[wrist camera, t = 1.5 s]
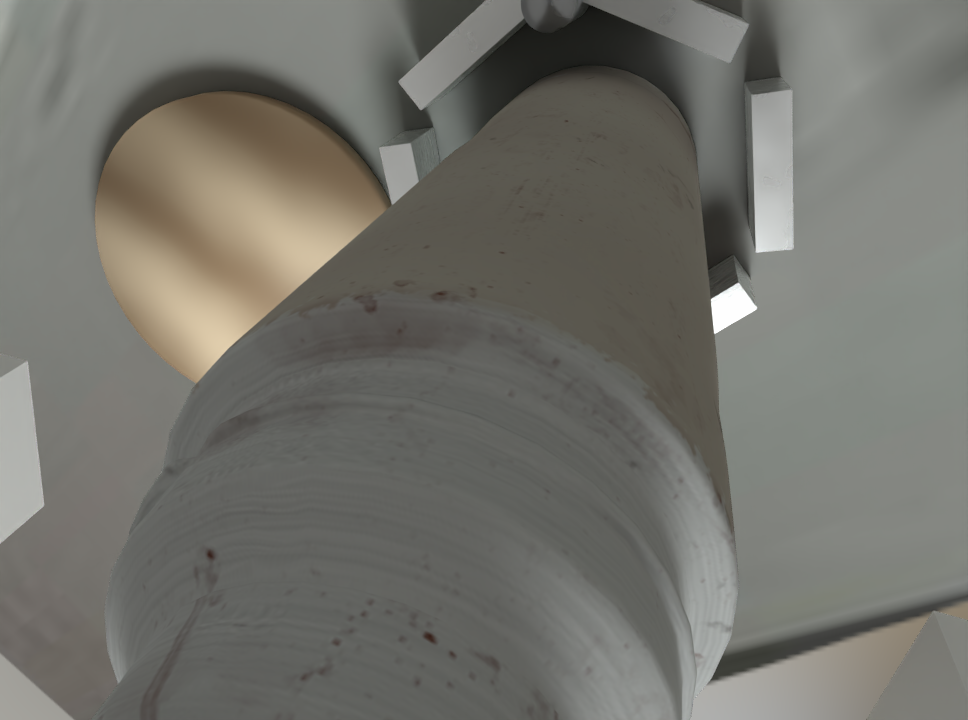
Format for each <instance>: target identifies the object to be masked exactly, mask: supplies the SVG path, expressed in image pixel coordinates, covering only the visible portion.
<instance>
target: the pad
mask: <svg viewBox="0 0 968 720" xmlns="http://www.w3.org/2000/svg"><path fill="white" fill-rule="evenodd" d="M391 206H392V205H391V202H390V200H389V198H388V197H387V195H386V193H385V191H384V189H383V188H382V186H381V184H380V182H379V181H378V179H377V178H376V176H375V175H374V174H373V172H372V171H371V170H370V168H369V167H368V165H367V164H366V163H365V161H364V160H363V159H362V158H361V157H360V156H359V155H358V154H357V153H356V152H355V150H354V149H353V148H352V147H351V146H350V145H349V144H348V143H347V142H346V141H345V140H343V139H342V138H341V137H340V136H339V135H338V134H336V133H335V132H334V131H333V130H332V129H331V128H329V127H328V126H326V125H325V124H323V123H322V122H320V121H319V120H317V119H316V118H314V117H313V116H311V115H310V114H308V113H306V112H304V111H302V110H300V109H298V108H296V107H294V106H292V105H290V104H287V103H285V102H282V101H279V100H276V99H273V98H270V97H267V96H262V95H258V94H253V93H248V92H235V91H218V92H207V93H202V94H198V95H194V96H190V97H186V98H183V99H179V100H176V101H172V102H170V103H167V104H165V105H163V106H161V107H158V108H156V109H154V110H152V111H151V112H149V113H148V114H146V115H145V116H143V117H142V118H140V119H139V120H138V121H137V122H136V123H135V124H133V125H132V126H131V127H130V128H129V129H128V130H127V131H126V132H125V133H124V134H123V136H122V137H121V138H120V140H119V141H118V143H117V144H116V145H115V147H114V148H113V150H112V152H111V154H110V156H109V158H108V160H107V162H106V163H105V166H104V169H103V172H102V175H101V178H100V181H99V185H98V191H97V197H96V206H95V227H96V238H97V244H98V249H99V254H100V259H101V262H102V265H103V268H104V271H105V274H106V277H107V280H108V282H109V285H110V287H111V289H112V291H113V293H114V296H115V298H116V300H117V301H118V303H119V305H120V307H121V308H122V310H123V312H124V313H125V315H126V317H127V318H128V319H129V321H130V322H131V324H132V325H133V326H134V328H135V329H136V331H137V332H138V333H139V334H140V336H141V337H142V338H143V339H144V340H145V341H146V342H147V343H148V345H149V346H150V347H151V348H152V349H153V350H154V351H155V352H156V353H157V354H158V355H159V356H160V357H162V358H163V359H164V360H165V361H166V362H167V363H168V364H170V365H171V366H172V367H173V368H175V369H176V370H177V371H179V372H180V373H181V374H183V375H184V376H186V377H187V378H189V379H190V380H192V381H194V382H195V383H197V382H198V381H199V380H200V379H201V378H202V377H203V376H204V375H205V374H206V372H207V371H208V370H209V369H210V368H211V367H212V366H213V365H214V364H215V363H216V361H217V360H218V359H219V358H220V357H221V356H222V355H223V354H224V353H225V352H226V350H227V349H228V348H229V347H230V346H232V345H233V344H234V343H235V342H236V341H237V340H238V339H240V338H241V337H242V336H243V335H244V334H245V333H246V332H248V331H249V330H250V329H251V328H252V327H253V326H254V325H256V324H257V323H258V322H259V321H260V320H261V319H262V318H264V317H265V316H266V315H267V314H268V313H269V312H270V311H272V310H273V309H274V308H275V307H276V306H277V305H278V304H280V303H281V302H282V301H283V300H284V299H285V298H286V297H288V296H289V295H290V294H291V293H292V292H293V291H294V290H296V289H297V288H298V287H299V286H300V285H301V284H302V283H304V282H305V281H306V280H307V279H308V278H309V277H310V276H312V275H313V274H314V273H315V272H316V271H317V270H318V269H320V268H321V267H322V266H323V265H324V264H325V263H326V262H328V261H329V260H330V259H331V258H332V257H333V256H335V255H336V254H337V253H338V252H339V251H340V250H341V249H343V248H344V247H345V246H346V245H347V244H348V243H349V242H351V241H352V240H353V239H354V238H355V237H356V236H357V235H359V234H360V233H361V232H362V231H363V230H364V229H365V228H367V227H368V226H369V225H370V224H371V223H372V222H373V221H375V220H376V219H377V218H378V217H379V216H380V215H381V214H383V213H384V212H385V211H386V210H387V209H388V208H389V207H391Z"/></svg>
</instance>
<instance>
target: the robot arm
mask: <svg viewBox="0 0 968 720" xmlns="http://www.w3.org/2000/svg"><path fill="white" fill-rule="evenodd" d="M43 506H44V499H43V490H42V481H41V473H40V464H39V455H38V447H37V438H36V429H35V421H34V412H33V403H32V394H31V386H30V377H29V368H28V361H26V360H23V359H19V358H15V357H12V356H8V355H5V354H1V353H0V543H1V542H3V541H4V540H5V539H6V538H7V537H8V536H10V535H11V534H12V533H13V532H14V531H15V530H17V529H18V528H19V527H20V526H21V525H22V524H24V523H25V522H26V521H27V520H28V519H29V518H31V517H32V516H33V515H34V514H35V513H36V512H38V511H39V510H40V509H41V508H42V507H43ZM866 720H968V620H966V619H962V618H958V617H954V616H951V615H947V614H944V613H940V612H937V611H933V612H932V613H931V615H930V617H929V618H928V620H927V622H926V623H925V625H924V626H923V628H922V630H921V631H920V633H919V635H918V636H917V638H916V640H915V641H914V643H913V645H912V646H911V648H910V649H909V651H908V653H907V654H906V656H905V657H904V659H903V661H902V662H901V664H900V666H899V667H898V669H897V671H896V672H895V674H894V675H893V677H892V679H891V680H890V682H889V684H888V685H887V687H886V688H885V690H884V692H883V693H882V695H881V696H880V698H879V700H878V701H877V703H876V705H875V707H874V708H873V710H872V711H871V713H870V714H869V716H868V718H867V719H866Z"/></svg>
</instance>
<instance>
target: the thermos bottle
mask: <svg viewBox="0 0 968 720" xmlns="http://www.w3.org/2000/svg"><path fill="white" fill-rule="evenodd" d="M738 591H739V574H738V564H737V554H736V544H735V534H734V524H733V514H732V504H731V494H730V485H729V475H728V467H727V460H726V452H725V446H724V440H723V434H722V428H721V421H720V415H719V390H718V369H717V356H716V346H715V336H714V326H713V316H712V306H711V296H710V286H709V277H708V267H707V257H706V247H705V237H704V227H703V217H702V207H701V197H700V187H699V178H698V168H697V158H696V149H695V146H694V142H693V139H692V136H691V133H690V130H689V127H688V126H687V124H686V122H685V120H684V118H683V117H682V115H681V113H680V111H679V110H678V108H677V107H676V106H675V105H674V104H673V103H672V102H671V100H670V99H669V98H668V97H667V96H666V95H665V94H664V93H663V92H662V91H661V90H659V89H658V88H657V87H655V86H654V85H653V84H651V83H650V82H648V81H647V80H646V79H643V78H641V77H639V76H637V75H634V74H632V73H630V72H628V71H625V70H621V69H616V68H612V67H607V66H579V67H574V68H569V69H564V70H560V71H558V72H555V73H553V74H551V75H548V76H546V77H544V78H541V79H540V80H538V81H537V82H535V83H534V84H532V85H531V86H529V87H528V88H527V89H525V90H524V91H522V92H521V93H520V94H519V95H518V96H516V97H515V98H514V99H513V100H512V101H511V102H510V103H508V104H507V105H506V106H505V107H504V108H503V109H502V110H500V111H499V112H498V113H497V114H496V115H495V116H494V117H493V118H491V120H490V121H489V122H488V123H487V124H486V125H485V126H484V127H483V128H482V129H481V130H480V131H479V132H478V133H477V134H476V135H475V136H474V137H473V138H472V139H471V140H470V141H468V142H467V143H466V144H464V145H463V146H461V147H460V148H458V149H457V150H455V151H454V152H453V153H451V154H450V155H449V156H448V157H447V158H446V159H444V160H443V161H442V162H441V163H440V164H439V165H438V166H436V167H435V168H434V169H433V170H432V171H431V172H430V173H428V174H427V175H426V176H425V177H424V178H423V179H421V180H420V181H419V182H418V183H417V184H416V185H415V186H413V187H412V188H411V189H410V190H409V191H408V192H407V193H405V194H404V195H403V196H402V197H401V198H400V199H399V200H397V201H396V202H395V203H394V204H393V205H392V206H391V207H389V208H388V209H387V210H386V211H385V212H384V213H383V214H381V215H380V216H379V217H378V218H377V219H376V220H375V221H373V222H372V223H371V224H370V225H369V226H368V227H367V228H365V229H364V230H363V231H362V232H361V233H360V234H359V235H357V236H356V237H355V238H354V239H353V240H352V241H351V242H349V243H348V244H347V245H346V246H345V247H344V248H343V249H341V250H340V251H339V252H338V253H337V254H336V255H335V256H333V257H332V258H331V259H330V260H329V261H328V262H326V263H325V264H324V265H323V266H322V267H321V268H320V269H318V270H317V271H316V272H315V273H314V274H313V275H312V276H310V277H309V278H308V279H307V280H306V281H305V282H304V283H302V284H301V285H300V286H299V287H298V288H297V289H296V290H294V291H293V292H292V293H291V294H290V295H289V296H288V297H286V298H285V299H284V300H283V301H282V302H281V303H280V304H278V305H277V306H276V307H275V308H274V309H273V310H272V311H270V312H269V313H268V314H267V315H266V316H265V317H264V318H262V319H261V320H260V321H259V322H258V323H257V324H256V325H254V326H253V327H252V328H251V329H250V330H249V331H248V332H246V333H245V334H244V335H243V336H242V337H241V338H240V339H238V340H237V341H236V342H235V343H234V344H233V345H232V346H230V347H229V348H228V349H227V350H226V352H225V353H224V354H223V355H222V356H221V357H220V358H219V359H218V360H217V361H216V363H215V364H214V365H213V366H212V367H211V368H210V369H209V370H208V371H207V372H206V374H205V375H204V376H203V377H202V378H201V379H200V380H199V381H198V382H197V383H196V385H195V386H194V387H193V388H192V390H191V392H190V394H189V396H188V398H187V400H186V402H185V404H184V406H183V408H182V410H181V412H180V414H179V416H178V417H177V419H176V421H175V423H174V425H173V427H172V429H171V432H170V436H169V441H168V446H167V450H166V455H165V460H164V464H163V469H162V473H161V474H160V475H159V476H158V478H157V479H156V481H155V482H154V484H153V485H152V487H151V488H150V490H149V491H148V493H147V494H146V495H145V497H144V499H143V501H142V503H141V505H140V508H139V510H138V512H137V515H136V517H135V519H134V521H133V524H132V526H131V528H130V531H129V537H128V540H127V542H126V544H125V546H124V548H123V550H122V552H121V554H120V556H119V557H118V559H117V561H116V563H115V565H114V567H113V569H112V572H111V577H110V582H109V588H108V593H107V598H106V604H105V612H104V613H105V625H106V637H107V649H108V654H109V657H110V660H111V663H112V666H113V669H114V673H115V676H116V679H117V682H118V685H117V686H116V688H115V689H114V690H113V692H112V693H111V694H110V696H109V697H108V698H107V700H106V701H105V702H104V703H103V705H102V706H101V707H100V709H99V710H98V711H97V713H96V714H95V715H94V717H93V718H92V719H91V720H690V718H691V714H692V707H693V700H694V699H695V698H696V696H697V695H698V694H699V693H700V692H701V690H702V689H703V688H704V687H705V686H706V684H707V683H708V682H709V681H710V680H711V678H712V676H713V674H714V672H715V670H716V668H717V665H718V663H719V661H720V659H721V657H722V655H723V653H724V650H725V648H726V646H727V644H728V642H729V640H730V637H731V634H732V628H733V621H734V615H735V609H736V603H737V597H738Z"/></svg>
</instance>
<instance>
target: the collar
mask: <svg viewBox="0 0 968 720" xmlns="http://www.w3.org/2000/svg"><path fill="white" fill-rule="evenodd" d="M589 5H591V6H594V7H596V8H599V9H601V10H603V11H606V12H608V13H611V14H613V15H615V16H618V17H620V18H622V19H625V20H627V21H630V22H632V23H634V24H637V25H639V26H642V27H644V28H646V29H649V30H651V31H654V32H656V33H658V34H661V35H663V36H665V37H668V38H670V39H673V40H675V41H677V42H680V43H682V44H685V45H687V46H689V47H692V48H694V49H697V50H699V51H701V52H704V53H706V54H708V55H711V56H713V57H716V58H718V59H720V60H723V61H725V62H728V63H731V61H732V59H733V57H734V55H735V53H736V50H737V48H738V46H739V44H740V42H741V40H742V38H743V36H744V34H745V32H746V30H747V28H748V26H749V24H748V23H747V22H746V21H745V20H744V19H743V18H742V17H739V16H737V15H734V14H732V13H730V12H727V11H725V10H722V9H720V8H718V7H715V6H713V5H710V4H708V3H706V2H703V1H701V0H485V1H484V2H483V3H482V4H481V5H480V6H479V7H478V8H477V9H476V10H475V11H474V12H473V13H471V14H470V15H469V16H468V17H467V18H466V19H465V20H464V21H463V22H462V23H461V24H460V25H459V26H457V27H456V28H455V29H454V30H453V31H452V32H451V33H450V34H449V35H448V36H447V37H446V38H445V39H443V40H442V41H441V42H440V43H439V44H438V45H437V46H436V47H435V48H434V49H433V50H432V51H431V52H429V53H428V54H427V55H426V56H425V57H424V58H423V59H422V60H421V61H420V62H419V63H418V64H417V65H415V66H414V67H413V68H412V69H411V70H410V71H409V72H408V73H407V74H406V75H405V76H404V77H403V78H402V79H400V80H399V81H398V82H399V84H400V85H401V86H402V88H403V89H404V90H405V91H406V93H407V94H408V95H409V96H410V98H411V99H412V100H413V101H414V103H415V104H416V105H417V106H418V108H419V109H420V110H422V109H424V108H426V107H427V106H429V105H431V104H432V103H434V102H436V101H437V100H439V99H441V98H442V97H444V96H445V95H446V94H447V93H448V92H449V91H450V90H452V89H453V88H454V87H455V86H456V85H457V84H458V83H459V82H461V81H462V80H463V79H464V78H465V77H466V76H467V75H468V74H470V73H471V72H472V71H473V70H474V69H475V68H476V67H478V66H479V65H480V64H481V63H482V62H483V61H484V60H485V59H487V58H488V57H489V56H490V55H491V54H492V53H493V52H494V51H496V50H497V49H498V48H499V47H500V46H501V45H502V44H503V43H505V42H506V41H507V40H508V39H509V38H510V37H511V36H512V35H514V34H515V33H516V32H517V31H518V30H519V29H520V28H522V27H523V26H524V25H525V24H526V23H528V24H529V26H531V27H532V28H533V29H535V30H537V31H539V32H543V33H552V32H556V31H558V30H560V29H562V28H563V27H565V26H566V25H568V24H570V23H571V22H573V21H574V20H576V19H578V18H579V17H581V16H582V15H583V14H584V13H585V12H586V10H587V9H588V7H589ZM744 89H745V121H746V152H747V184H748V215H749V229H750V233H751V236H752V240H753V244H754V247H755V251H756V253H757V252H768V251H779V250H790V249H793V136H792V89H791V88H790V86H789V85H788V84H787V83H786V82H785V81H784V80H783V78H782V77H775V78H769V79H762V80H755V81H748V82H744ZM379 150H380V154H381V159H382V163H383V168H384V172H385V177H386V181H387V185H388V190H389V194H390V199H391V203H392V205H393V204H394V203H395V202H396V201H397V200H399V199H400V198H401V197H402V196H403V195H404V194H405V193H407V192H408V191H409V190H410V189H411V188H412V187H413V186H415V185H416V184H417V183H418V182H419V181H420V180H421V179H423V178H424V177H425V176H426V175H427V174H428V173H430V172H431V171H432V170H433V169H434V168H435V167H436V166H438V165H439V164H440V159H439V153H438V148H437V143H436V138H435V133H434V128H433V127H431V128H424V129H417V130H410V131H404V132H402V133H401V134H399V135H398V136H396V137H395V138H393V139H392V140H390V141H388V142H387V143H385V144H384V145H382V146H381V147H379ZM708 277H709V286H710V296H711V306H712V316H713V326H714V334H715V333H717V332H718V331H720V330H722V329H724V328H725V327H727V326H729V325H730V324H732V323H734V322H735V321H737V320H739V319H741V318H742V317H744V316H746V315H747V314H749V313H751V312H753V311H754V310H756V309H757V304H756V300H755V296H754V291H753V287H752V283H751V278H750V277H749V276H748V274H747V273H746V271H745V270H744V269H743V267H742V266H741V264H740V263H739V262H738V260H737V259H736V257H735V256H734V255H731V256H730V257H728V258H727V259H725V260H723V261H722V262H720V263H719V264H717V265H715V266H714V267H712V268H711V269H709V270H708Z"/></svg>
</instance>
